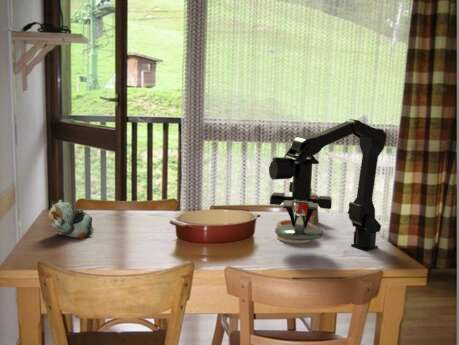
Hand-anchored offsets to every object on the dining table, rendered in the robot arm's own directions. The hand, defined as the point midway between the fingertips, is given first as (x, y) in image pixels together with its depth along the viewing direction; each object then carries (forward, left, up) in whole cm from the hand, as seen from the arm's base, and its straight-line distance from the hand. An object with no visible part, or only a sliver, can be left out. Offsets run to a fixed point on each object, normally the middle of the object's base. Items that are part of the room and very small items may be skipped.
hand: (299, 227), depth 165 cm
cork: (+25, -32, -9) cm, 42 cm away
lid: (0, 0, -2) cm, 2 cm away
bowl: (+13, -11, -9) cm, 19 cm away
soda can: (+21, -24, -9) cm, 33 cm away
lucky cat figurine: (+56, +51, -9) cm, 77 cm away
